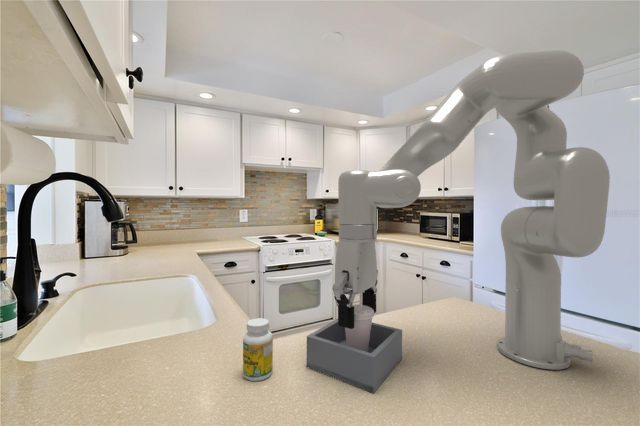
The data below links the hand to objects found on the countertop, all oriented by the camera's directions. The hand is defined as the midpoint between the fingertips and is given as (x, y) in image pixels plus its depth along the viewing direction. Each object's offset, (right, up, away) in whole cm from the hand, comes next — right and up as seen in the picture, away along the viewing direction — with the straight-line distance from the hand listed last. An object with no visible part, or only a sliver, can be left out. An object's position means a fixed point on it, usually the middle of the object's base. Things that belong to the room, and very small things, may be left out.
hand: (358, 318), depth 57 cm
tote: (-1, -9, 0) cm, 9 cm away
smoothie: (0, -8, 0) cm, 8 cm away
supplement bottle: (-19, -9, -4) cm, 22 cm away
